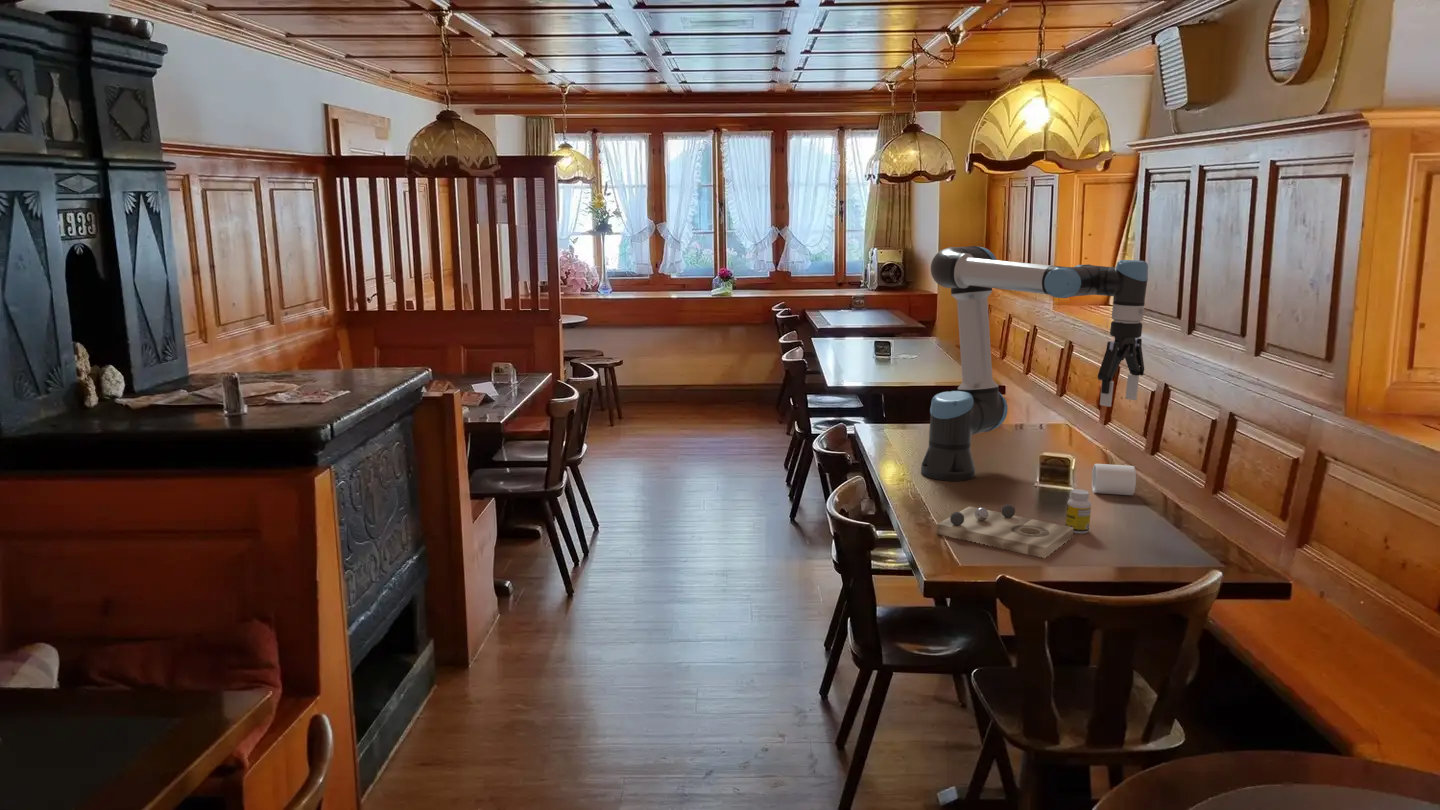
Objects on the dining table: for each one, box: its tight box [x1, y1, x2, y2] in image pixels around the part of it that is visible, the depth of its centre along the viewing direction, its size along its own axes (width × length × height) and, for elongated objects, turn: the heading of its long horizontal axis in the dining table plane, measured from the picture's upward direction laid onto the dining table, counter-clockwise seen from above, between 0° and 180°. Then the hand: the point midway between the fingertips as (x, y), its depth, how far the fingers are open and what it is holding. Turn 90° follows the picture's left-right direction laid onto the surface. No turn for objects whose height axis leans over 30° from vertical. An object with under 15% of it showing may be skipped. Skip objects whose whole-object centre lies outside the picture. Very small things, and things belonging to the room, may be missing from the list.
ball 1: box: [949, 511, 964, 526], centre depth 237 cm, size 3×3×3 cm
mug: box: [1091, 463, 1137, 496], centre depth 275 cm, size 12×10×8 cm
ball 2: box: [1000, 504, 1016, 518], centre depth 243 cm, size 3×3×3 cm
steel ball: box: [975, 507, 988, 521], centre depth 241 cm, size 3×3×3 cm
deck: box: [936, 505, 1074, 559], centre depth 238 cm, size 26×18×2 cm
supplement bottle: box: [1064, 488, 1092, 535], centre depth 242 cm, size 5×5×10 cm
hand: (1118, 402), depth 263 cm, fingers open, 13 cm apart
